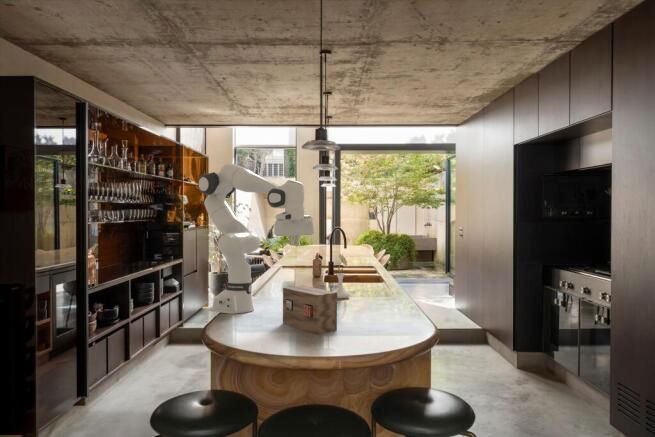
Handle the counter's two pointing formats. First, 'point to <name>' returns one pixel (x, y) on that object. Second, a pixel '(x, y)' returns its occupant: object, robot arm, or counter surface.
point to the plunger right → (308, 310)
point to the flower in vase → (340, 290)
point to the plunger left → (289, 305)
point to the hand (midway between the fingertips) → (294, 245)
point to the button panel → (322, 309)
